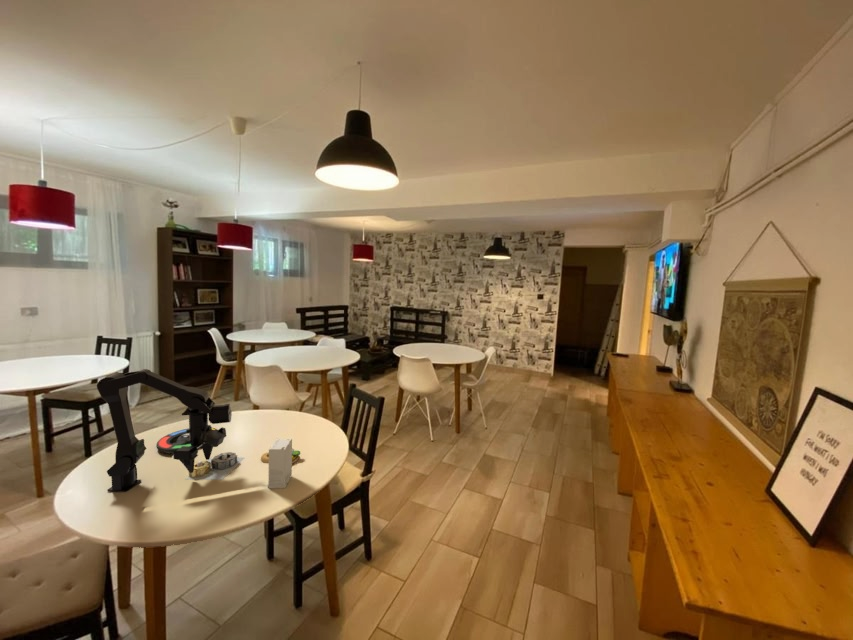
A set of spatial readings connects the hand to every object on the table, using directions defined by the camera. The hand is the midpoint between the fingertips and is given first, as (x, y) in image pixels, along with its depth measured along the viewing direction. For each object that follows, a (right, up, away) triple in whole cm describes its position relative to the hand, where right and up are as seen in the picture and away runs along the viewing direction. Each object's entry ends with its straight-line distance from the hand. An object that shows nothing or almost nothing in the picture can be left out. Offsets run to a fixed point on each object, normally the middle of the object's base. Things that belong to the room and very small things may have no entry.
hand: (199, 465), depth 125 cm
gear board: (+4, -4, +4) cm, 7 cm away
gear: (+5, -2, +6) cm, 9 cm away
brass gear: (0, -3, 0) cm, 3 cm away
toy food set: (+25, -4, +13) cm, 28 cm away
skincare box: (+31, -5, -2) cm, 31 cm away
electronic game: (-22, -1, +25) cm, 33 cm away
